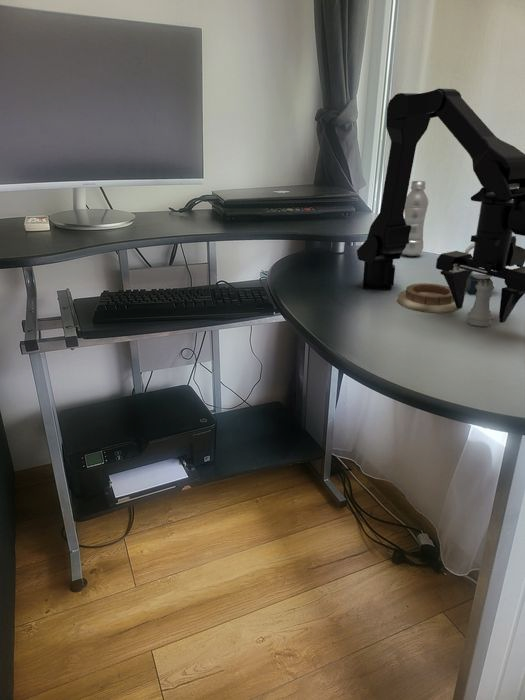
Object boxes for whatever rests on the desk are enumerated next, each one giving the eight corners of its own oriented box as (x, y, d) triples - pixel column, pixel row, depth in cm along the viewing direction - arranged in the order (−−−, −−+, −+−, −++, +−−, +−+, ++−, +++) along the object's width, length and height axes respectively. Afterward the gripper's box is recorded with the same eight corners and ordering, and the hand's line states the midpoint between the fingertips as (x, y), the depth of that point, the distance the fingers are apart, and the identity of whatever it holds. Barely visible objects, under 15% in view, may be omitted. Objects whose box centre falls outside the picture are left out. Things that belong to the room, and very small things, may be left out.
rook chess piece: (493, 321, 96) (501, 280, 93) (488, 329, 93) (496, 286, 90) (468, 317, 99) (475, 277, 95) (463, 324, 95) (470, 283, 92)
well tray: (398, 310, 103) (399, 297, 102) (396, 291, 114) (398, 280, 113) (466, 314, 100) (468, 301, 99) (458, 294, 112) (459, 283, 111)
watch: (499, 295, 111) (508, 245, 106) (460, 294, 112) (468, 243, 108) (494, 288, 116) (502, 239, 111) (456, 286, 117) (464, 238, 113)
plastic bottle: (399, 258, 143) (407, 182, 135) (397, 252, 149) (405, 180, 141) (423, 258, 142) (432, 183, 134) (420, 253, 148) (429, 180, 140)
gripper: (574, 233, 86) (553, 321, 92) (477, 218, 100) (465, 294, 106) (535, 241, 80) (516, 334, 86) (439, 224, 95) (428, 304, 101)
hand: (479, 314), depth 95 cm, fingers open, 9 cm apart
